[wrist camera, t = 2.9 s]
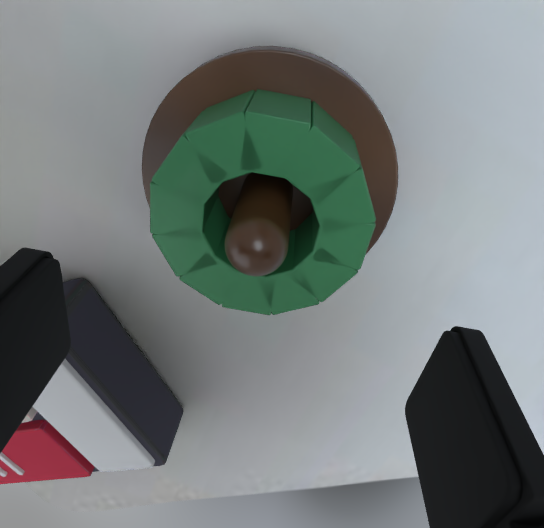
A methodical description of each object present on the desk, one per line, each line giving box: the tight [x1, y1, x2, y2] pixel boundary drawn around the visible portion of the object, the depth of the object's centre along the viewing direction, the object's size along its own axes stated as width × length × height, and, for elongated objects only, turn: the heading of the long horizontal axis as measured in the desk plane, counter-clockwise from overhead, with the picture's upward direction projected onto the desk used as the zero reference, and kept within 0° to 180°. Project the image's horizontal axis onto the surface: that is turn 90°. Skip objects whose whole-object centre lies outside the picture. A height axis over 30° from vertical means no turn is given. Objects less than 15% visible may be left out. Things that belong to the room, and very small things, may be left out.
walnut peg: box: [142, 46, 398, 276], centre depth 15 cm, size 10×10×6 cm
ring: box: [150, 89, 376, 315], centre depth 15 cm, size 7×7×3 cm
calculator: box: [0, 279, 183, 484], centre depth 24 cm, size 11×4×15 cm
